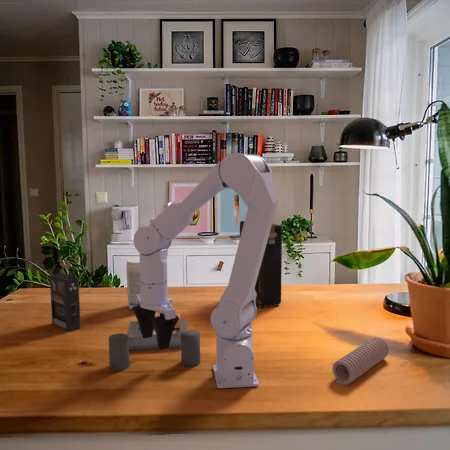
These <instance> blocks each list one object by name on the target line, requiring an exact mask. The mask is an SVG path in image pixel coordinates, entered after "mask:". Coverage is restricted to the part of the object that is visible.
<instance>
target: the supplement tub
mask: <svg viewBox="0 0 450 450" xmlns="http://www.w3.org/2000/svg"><path fill="white" fill-rule="evenodd" d="M125 267H126V289H127V290H126V292H127V307H128V309H130V310H132V307H135V306H138V304H137V303H136V295H137V294H141V288H140V256H137V257H132V258H128V259H126V265H125Z"/></svg>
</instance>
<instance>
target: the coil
mask: <svg viewBox="0 0 450 450" xmlns="http://www.w3.org/2000/svg"><path fill="white" fill-rule="evenodd" d="M389 353H390V350H389V345H388V342H386V340H384V338H381V337H378V336H377V337H373V338H371V339H369V340H367V341H366V342H365V343H363V344H362V345H360V346H358V347H357V348H355V349H354V350H352V351H350V352H349V353H346V355H343V357H340V359H337V360H336V361H335V362H333V365H332V368H331V369H332V374H333V375H334V377H335V378H336V382H335V383H336V384H339V385H342V386H348V385H350V384H351V383H353V382H354V381H356V380H358V378H359V377H361V376H363V374H365V373H366V372H368V371H369V370H371V369H372V368H373V367H374V366H376V365H377V364H379V363H380V362H382V361H383V360H385V358H387V356H389Z"/></svg>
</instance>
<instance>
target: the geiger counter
mask: <svg viewBox="0 0 450 450" xmlns="http://www.w3.org/2000/svg"><path fill="white" fill-rule="evenodd" d="M60 269H61V268H60V267H59V268H53V269H52V274H51V273H50V274H49V285H50V286H49V287H50V290H49V291H50V303H51V304H50V306H51V307H50V308H51V322H52V323H51V325H53V326H54V327H57V328H60V329H61V330H63V331H65V332H74V331H76V330H77V331H78V330H81V328H82V327H81V306H80V305H81V304H80V286H79V285H80V284H79V283H80V282H79V277H78V276H76V272H71V273H66V274H65V273H64V272H61V270H60Z"/></svg>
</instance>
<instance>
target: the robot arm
mask: <svg viewBox="0 0 450 450" xmlns="http://www.w3.org/2000/svg"><path fill="white" fill-rule="evenodd" d="M272 173H273V170H272V168H271V167H270V166H269V164H268V163H267V162H266V160H265V159H264V158H263V157H262V156H260V155H259V154H255V153H250V154H245V153H241V152H232V153H230V154H227V155H226V156H225V157H224V158H223V160H222V161H219V162H218V163H217V164H215V165H213V167H212V169H211V170H210V172H209V173H207V175H206V176H205V177H204V178H203V179H202V180H200V182H199V183H198V184H197V185H196V186H195V187H194V188H193V189H192V190H191V191H190V192H189V193H188V194H187V196H185V197H184V198H183V200H182V201H175V200H174V201H172V202H166V203H165V204H164V206H163V208H164V209H163V210H162V211H161V212H160V213H159V214H158V215H157V216H156V217H152V218H151V219H150V220H149V223H148V224H149V225H148V226H147V225H142V226H139V227H138V228H137V230H136V232H135V233H134V236H133V245H134V247H135V249H136V251H137V252H138V253H139V257H140V288H141V294H137V295H136V303H137V304H138V306H135V307H132V309H131V310H132V313H133V314H134V315H135V318H136V320H137V321H138V323H139V327H140V330H141V334H142V337H143V338H144V339H145V338H149V337H152V335H153V327H154V328H155V331H156V336H157V344H158V348H159V350H165V349H170V348H169V344H170V340H171V336H172V332H173V329H174V327H175V325H176V323H177V322H178V320H179V316H178V315H176V314H177V313H176V308H174V307H173V306H172V304H171V303H173V298H171V297H168V295H169V294H168V293H169V292H168V290H169V289H168V253H169V252H168V251H169V248H170V246H171V245H172V243H173V240H174V239H175V238H176V237H178V236H179V235H180V234H181V233H182V232H183V231H184V230H186V228H187V227H189V226H190V225H191V224H192V223H193V220H194V213H196V211H197V210H199V209H201V207H202V206H204V205H205V204H206V203H208V202H209V201H210V200H211V199H212V198H213V197H215V196H216V195H218V193H220V192H221V191H224V190H228V189H231V190H232V191H233V192H235V193H236V194H238V195H239V196H240V198H241V199H242V201H243V202H244V204H245V205H246V207H247V210H246V215H245V219H244V221H245V222H244V225H243V229H242V233H241V237H240V236H239V242H238V245H237V249H236V253H235V256H234V261H233V264H232V268H231V272H230V277H229V280H228V284H227V286H226V288H225V289H224V291H223V293H222V294H221V296H220V299H219V302H218V304H217V306H216V307H215V308H214V310H212V313H211V315H210V325H211V327H212V330H213V331H214V332H215V333H216V337H215V338H216V342H215V343H216V347H215V348H216V364H213V366H212V369H213V373H214V379H215V384H216V387H217V388H218V389H228V388H229V389H230V388H247V387H250V388H251V387H259V385H260V382H259V381H258V377H257V375H256V373H255V369H254V368H255V355H254V351H253V341H254V340H253V339H254V337H253V334H254V333H253V327H252V322H253V321H254V320H255V318H256V315H257V312H258V311H257V310H258V309H257V306H256V304H255V300H256V295H257V293H256V291H255V285H256V281H257V278H258V274H259V270H260V267H261V263H262V259H263V256H264V252H265V248H266V245H267V241H268V237H269V234H270V230H271V226H272V224H274V218H275V214H276V212H277V207H278V199H277V194H276V189H275V187H274V181H273V176H272V175H273V174H272ZM156 313H158V314H159V315H158V316H156Z"/></svg>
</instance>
